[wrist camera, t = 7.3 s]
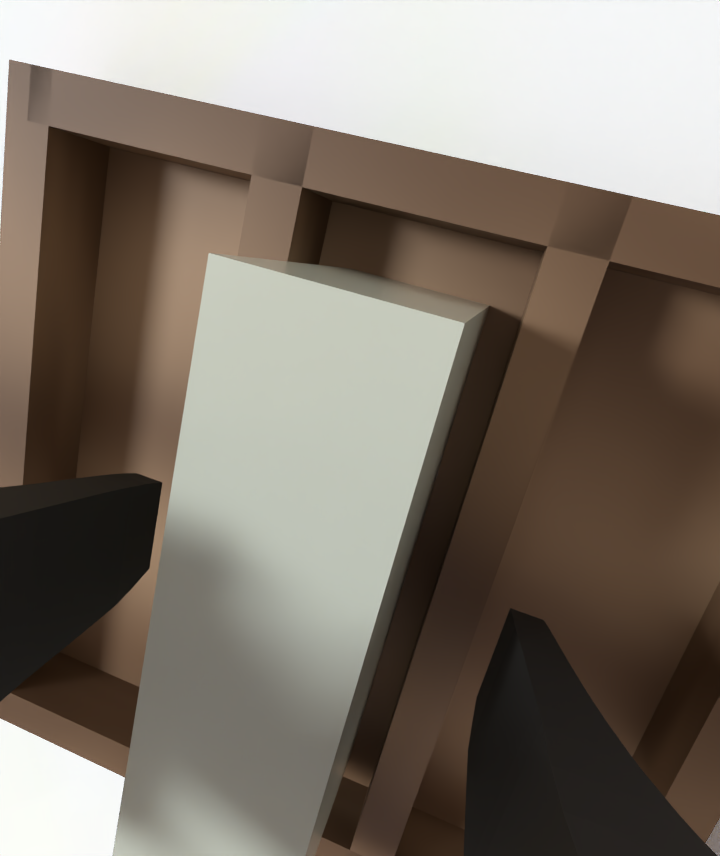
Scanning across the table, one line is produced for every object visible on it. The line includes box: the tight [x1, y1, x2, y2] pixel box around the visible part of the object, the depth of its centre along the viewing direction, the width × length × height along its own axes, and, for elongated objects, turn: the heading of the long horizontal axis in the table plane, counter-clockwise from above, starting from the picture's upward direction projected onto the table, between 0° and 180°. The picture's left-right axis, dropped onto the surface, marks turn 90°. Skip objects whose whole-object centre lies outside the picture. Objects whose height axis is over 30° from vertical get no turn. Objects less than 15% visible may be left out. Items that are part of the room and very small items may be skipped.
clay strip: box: [113, 253, 490, 856], centre depth 11 cm, size 12×3×6 cm, turn 166°
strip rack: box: [0, 60, 720, 856], centre depth 13 cm, size 16×17×2 cm
